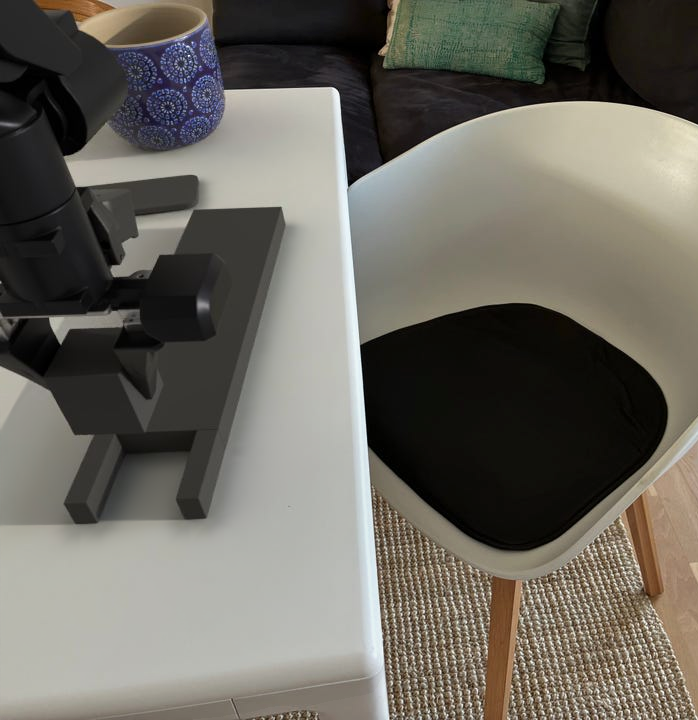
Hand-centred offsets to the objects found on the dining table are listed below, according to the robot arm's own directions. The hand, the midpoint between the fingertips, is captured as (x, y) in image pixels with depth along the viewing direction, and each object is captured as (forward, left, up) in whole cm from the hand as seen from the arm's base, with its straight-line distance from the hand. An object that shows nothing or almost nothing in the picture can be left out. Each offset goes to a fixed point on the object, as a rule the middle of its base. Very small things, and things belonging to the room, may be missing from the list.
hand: (114, 396), depth 54 cm
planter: (+35, +56, -11) cm, 67 cm away
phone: (+22, +43, -11) cm, 49 cm away
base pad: (+12, +14, -11) cm, 22 cm away
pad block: (0, 0, -1) cm, 1 cm away
